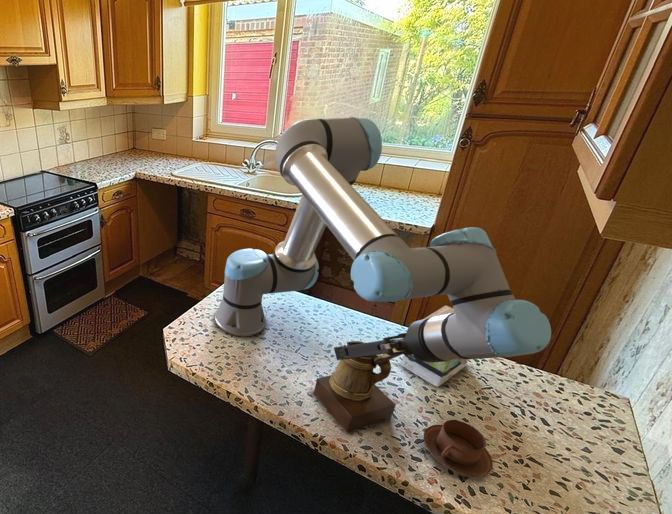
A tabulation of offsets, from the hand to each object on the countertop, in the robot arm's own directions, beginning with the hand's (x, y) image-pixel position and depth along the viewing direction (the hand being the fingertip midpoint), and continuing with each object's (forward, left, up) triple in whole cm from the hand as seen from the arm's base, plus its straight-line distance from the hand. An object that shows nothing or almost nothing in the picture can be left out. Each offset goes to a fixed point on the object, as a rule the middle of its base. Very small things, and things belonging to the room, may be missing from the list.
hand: (364, 350), depth 88 cm
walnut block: (+1, 0, -17) cm, 17 cm away
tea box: (-4, +31, -17) cm, 35 cm away
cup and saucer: (+18, +12, -17) cm, 27 cm away
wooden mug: (+1, +1, -12) cm, 12 cm away
